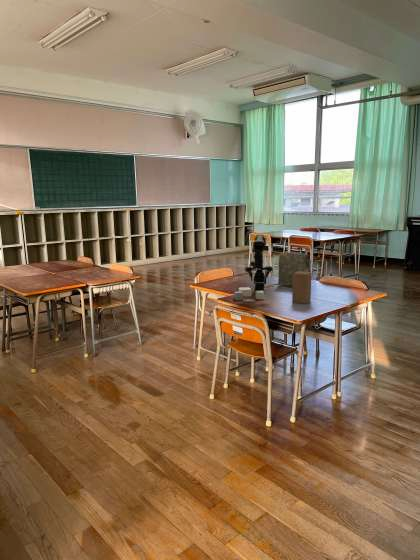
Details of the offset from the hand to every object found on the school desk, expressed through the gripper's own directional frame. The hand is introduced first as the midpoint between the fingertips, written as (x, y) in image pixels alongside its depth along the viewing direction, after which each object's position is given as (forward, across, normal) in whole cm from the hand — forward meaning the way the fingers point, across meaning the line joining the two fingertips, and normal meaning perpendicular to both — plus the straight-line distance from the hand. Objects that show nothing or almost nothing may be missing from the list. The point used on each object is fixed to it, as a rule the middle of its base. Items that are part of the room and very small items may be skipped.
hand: (258, 281), depth 288 cm
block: (+12, -26, +15) cm, 32 cm away
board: (+12, +8, +7) cm, 16 cm away
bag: (+12, -38, -36) cm, 54 cm away
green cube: (+12, -1, +1) cm, 12 cm away
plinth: (+12, +7, -11) cm, 18 cm away
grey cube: (+12, +14, 0) cm, 19 cm away
